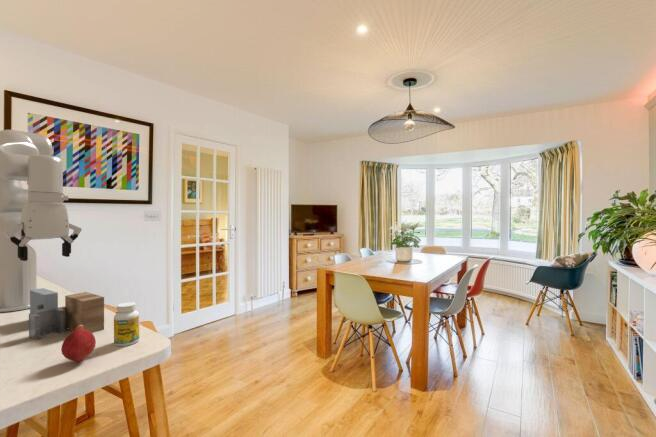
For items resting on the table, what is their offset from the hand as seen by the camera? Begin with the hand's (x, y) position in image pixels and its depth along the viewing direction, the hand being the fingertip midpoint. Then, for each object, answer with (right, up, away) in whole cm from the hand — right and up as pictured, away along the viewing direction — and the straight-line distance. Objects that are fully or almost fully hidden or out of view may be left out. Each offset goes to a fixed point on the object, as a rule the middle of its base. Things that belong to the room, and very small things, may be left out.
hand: (45, 258), depth 93 cm
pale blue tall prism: (-1, -19, +1) cm, 19 cm away
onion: (+28, -20, -23) cm, 41 cm away
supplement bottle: (+31, -20, -13) cm, 39 cm away
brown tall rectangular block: (+14, -19, -4) cm, 24 cm away
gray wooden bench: (+8, -19, -7) cm, 22 cm away
